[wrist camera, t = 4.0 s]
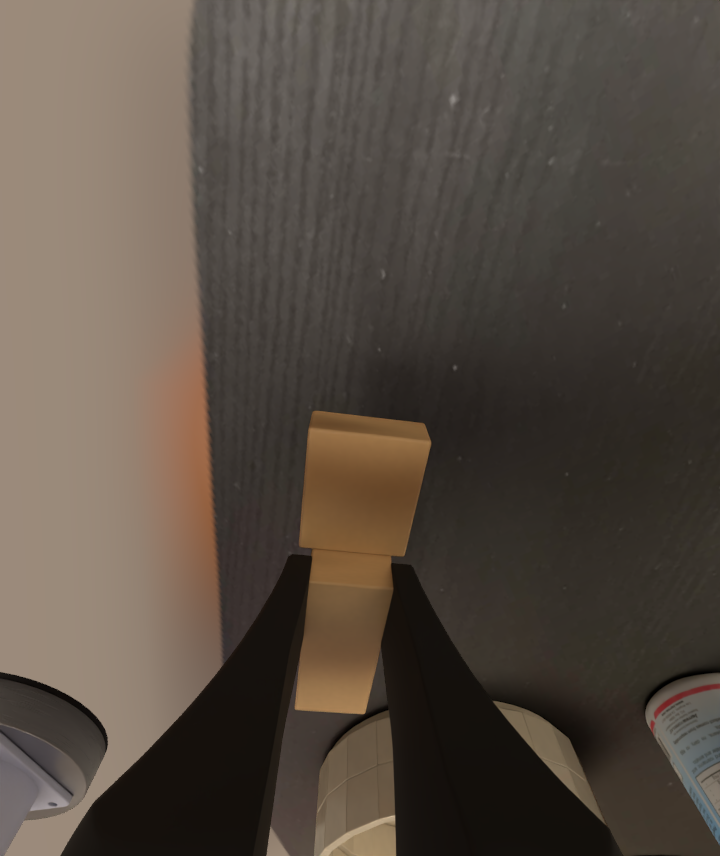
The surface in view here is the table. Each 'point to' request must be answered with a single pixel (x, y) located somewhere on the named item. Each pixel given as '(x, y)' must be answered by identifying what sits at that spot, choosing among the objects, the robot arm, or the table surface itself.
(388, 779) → the bowl
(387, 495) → the tan stepped block
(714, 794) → the pill bottle
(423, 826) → the robot arm
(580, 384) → the table surface
